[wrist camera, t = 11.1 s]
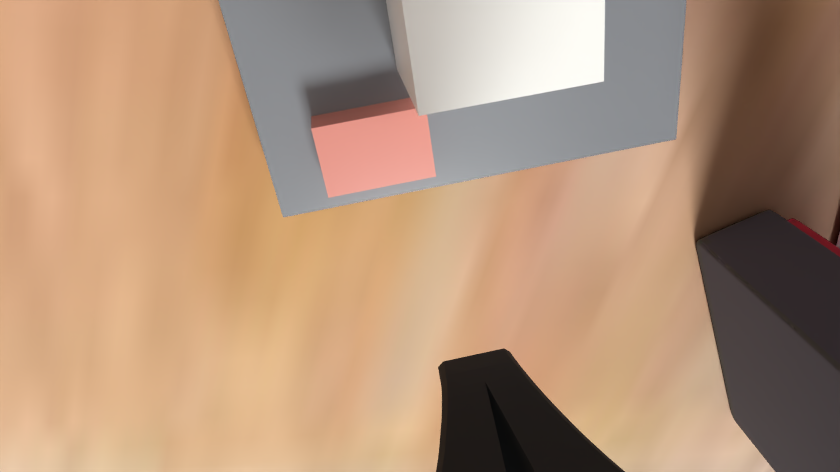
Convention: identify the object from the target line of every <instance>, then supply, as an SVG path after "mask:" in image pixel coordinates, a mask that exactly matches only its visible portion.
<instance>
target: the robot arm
mask: <svg viewBox="0 0 840 472" xmlns="http://www.w3.org/2000/svg"><path fill="white" fill-rule="evenodd" d="M836 246H837V247H838V248H840V233H839V237H838V241H837V245H836ZM438 369H439V375H440V380H441V387H442V422H441V435H440V447H439V456H438V463H437V470H436V472H625V471H623V470H622V469H621V468H620V467H619V466H617V465H616V464H615V463H614V462H613V461H612V460H611V459H609V458H608V457H607V456H606V455H605V454H604V453H603V452H602V451H601V450H600V449H598V448H597V447H596V446H595V445H594V444H593V443H592V442H591V441H590V440H589V439H588V438H587V437H585V436H584V435H583V434H582V433H581V432H580V431H579V430H578V429H577V428H576V427H575V426H574V425H573V424H572V423H571V422H570V421H569V420H568V419H567V418H566V417H565V416H564V415H563V414H562V413H561V412H560V411H559V410H558V408H557V407H556V406H555V405H554V404H553V403H552V402H551V401H550V400H549V399H548V398H547V397H546V396H545V395H544V393H543V392H542V391H541V390H540V389H539V388H538V387H537V385H536V384H535V383H534V382H533V381H532V380H531V379H530V377H529V376H528V375H527V374H526V372H525V371H524V370H523V369H522V368H521V366H520V365H519V364H518V362H517V361H516V360H515V358H514V357H513V356H512V354H511V353H510V352H509V351H507V350H506V349H500V350H495V351H490V352H486V353H481V354H476V355H472V356H467V357H462V358H458V359H453V360H449V361H444V362H442V364H441V365H440V366H439V367H438Z"/></svg>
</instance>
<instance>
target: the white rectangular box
mask: <svg viewBox="0 0 840 472" xmlns="http://www.w3.org/2000/svg"><path fill="white" fill-rule="evenodd" d="M386 4H387V10H388V17H389V23H390V29H391V35H392V42H393V48H394V54H395V60H396V67H397V70H398V72H399V75H400V77H401V79H402V81H403V83H404V85H405V87H406V90H407V92H408V94H409V96H410V98H411V100H412V103H413V105H414V107H415V109H416V111H417V113H418V116H421V115H427V114H432V113H438V112H443V111H448V110H454V109H459V108H464V107H470V106H475V105H480V104H486V103H491V102H497V101H502V100H507V99H513V98H518V97H523V96H529V95H534V94H540V93H545V92H550V91H556V90H561V89H566V88H572V87H577V86H583V85H588V84H593V83H599V82H604V41H605V0H386Z"/></svg>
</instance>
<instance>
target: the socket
mask: <svg viewBox="0 0 840 472" xmlns="http://www.w3.org/2000/svg"><path fill="white" fill-rule="evenodd" d="M218 1H219V4H220V7H221V11H222V14H223V17H224V21H225V24H226V28H227V31H228V34H229V38H230V41H231V44H232V48H233V51H234V54H235V58H236V61H237V64H238V68H239V71H240V74H241V78H242V81H243V84H244V88H245V91H246V94H247V98H248V101H249V104H250V108H251V111H252V115H253V118H254V121H255V125H256V128H257V131H258V135H259V138H260V141H261V145H262V148H263V151H264V155H265V158H266V161H267V165H268V168H269V171H270V175H271V178H272V181H273V185H274V188H275V192H276V195H277V198H278V202H279V205H280V208H281V212H282V215H283V217H287V216H293V215H298V214H303V213H308V212H313V211H318V210H323V209H328V208H333V207H338V206H343V205H348V204H353V203H358V202H363V201H368V200H373V199H378V198H383V197H388V196H393V195H398V194H403V193H408V192H413V191H418V190H423V189H428V188H433V187H438V186H443V185H448V184H453V183H458V182H463V181H468V180H473V179H479V178H484V177H489V176H494V175H499V174H504V173H509V172H514V171H519V170H524V169H529V168H534V167H539V166H544V165H549V164H554V163H559V162H564V161H569V160H574V159H579V158H584V157H589V156H594V155H599V154H604V153H609V152H614V151H619V150H624V149H629V148H634V147H639V146H644V145H649V144H654V143H660V142H665V141H670V140H675V139H676V134H677V120H678V107H679V93H680V80H681V67H682V53H683V40H684V26H685V13H686V0H605V41H604V82H599V83H593V84H588V85H583V86H577V87H572V88H566V89H561V90H556V91H550V92H545V93H540V94H534V95H529V96H523V97H518V98H513V99H507V100H502V101H497V102H491V103H486V104H480V105H475V106H470V107H464V108H459V109H454V110H448V111H443V112H438V113H432V114H427V115H421V116H418V113H417V111H416V109H415V107H414V105H413V103H412V100H411V98H410V96H409V94H408V92H407V90H406V87H405V85H404V83H403V81H402V79H401V77H400V75H399V72H398V70H397V67H396V60H395V54H394V48H393V42H392V35H391V29H390V23H389V17H388V10H387V4H386V0H218Z"/></svg>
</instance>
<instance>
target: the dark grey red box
mask: <svg viewBox="0 0 840 472" xmlns="http://www.w3.org/2000/svg"><path fill="white" fill-rule="evenodd" d="M696 248H697V253H698V258H699V262H700V267H701V272H702V277H703V281H704V286H705V291H706V295H707V300H708V305H709V310H710V314H711V319H712V324H713V328H714V333H715V338H716V343H717V347H718V352H719V357H720V361H721V366H722V371H723V376H724V380H725V385H726V390H727V394H728V399H729V404H730V409H731V413H732V416H733V418H734V420H735V421H736V423H737V424H738V425H739V427H740V428H741V429H742V430H743V432H744V433H745V434H746V435H747V437H748V438H749V439H750V440H751V442H752V443H753V444H754V445H755V447H756V448H757V449H758V450H759V452H760V453H761V454H762V455H763V457H764V458H765V459H766V460H767V462H768V463H769V464H770V465H771V467H772V468H773V469H774V470H775V472H840V248H838V247H837V246H835V245H834V244H832V243H831V242H829V241H828V240H826V239H825V238H823V237H822V236H820V235H819V234H817V233H816V232H814V231H813V230H811V229H810V228H808V227H807V226H805V225H804V224H802V223H801V222H799V221H798V220H796V219H793V218H791V219H789V220H786V219H784V218H783V217H781V216H780V215H778V214H777V213H775V212H774V211H771V210H766V211H764V212H761V213H759V214H756V215H754V216H752V217H749V218H747V219H745V220H742V221H740V222H738V223H736V224H733V225H731V226H729V227H726V228H724V229H722V230H720V231H717V232H715V233H713V234H710V235H708V236H706V237H704V238H702V239H699V240H698V241H697V243H696Z"/></svg>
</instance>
